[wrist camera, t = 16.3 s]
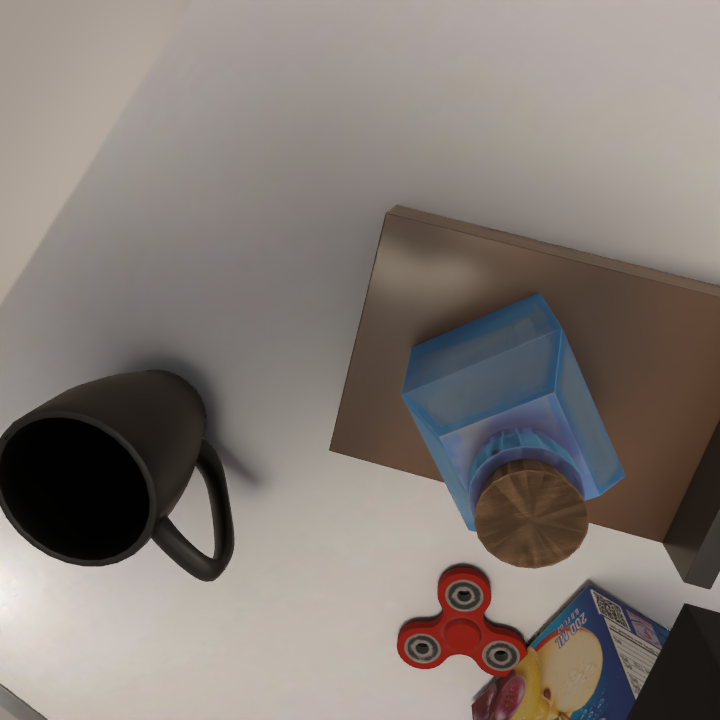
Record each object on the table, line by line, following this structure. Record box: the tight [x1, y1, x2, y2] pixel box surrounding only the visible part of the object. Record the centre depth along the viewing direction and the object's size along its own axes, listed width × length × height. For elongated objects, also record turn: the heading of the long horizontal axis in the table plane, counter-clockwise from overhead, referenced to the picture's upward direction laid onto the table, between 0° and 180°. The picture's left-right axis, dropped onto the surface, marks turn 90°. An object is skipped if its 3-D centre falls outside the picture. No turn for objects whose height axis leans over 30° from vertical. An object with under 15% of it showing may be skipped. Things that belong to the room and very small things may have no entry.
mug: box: [0, 370, 234, 582], centre depth 34 cm, size 8×12×10 cm
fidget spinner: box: [397, 567, 527, 677], centre depth 39 cm, size 8×7×1 cm
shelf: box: [329, 205, 720, 589], centre depth 30 cm, size 18×12×8 cm, turn 77°
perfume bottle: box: [401, 293, 625, 568], centre depth 23 cm, size 6×6×12 cm
